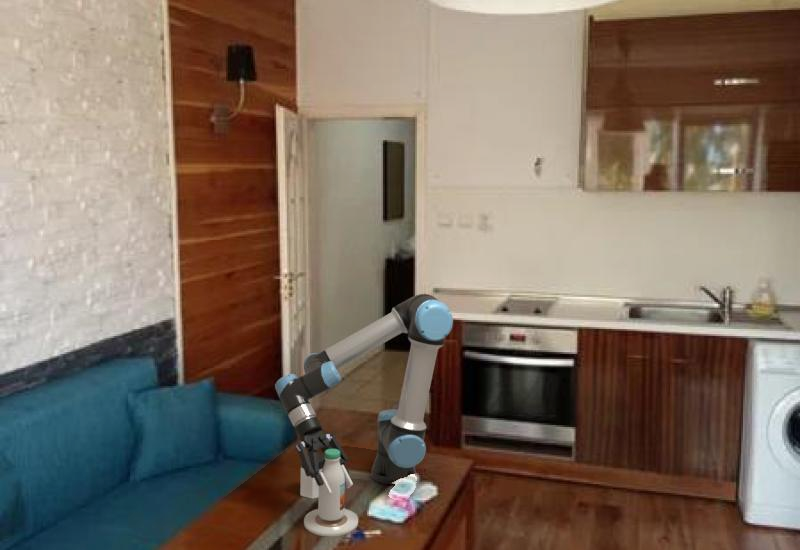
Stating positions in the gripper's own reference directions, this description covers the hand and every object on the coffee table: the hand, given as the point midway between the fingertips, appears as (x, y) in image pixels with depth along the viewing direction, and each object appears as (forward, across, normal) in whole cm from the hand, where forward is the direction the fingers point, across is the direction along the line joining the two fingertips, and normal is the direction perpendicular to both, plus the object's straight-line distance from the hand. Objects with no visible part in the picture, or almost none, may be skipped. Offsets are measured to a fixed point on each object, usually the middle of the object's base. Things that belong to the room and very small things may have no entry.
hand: (339, 490), depth 223 cm
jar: (-8, -9, -24) cm, 27 cm away
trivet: (+6, 0, -11) cm, 12 cm away
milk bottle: (+4, 0, -9) cm, 10 cm away
